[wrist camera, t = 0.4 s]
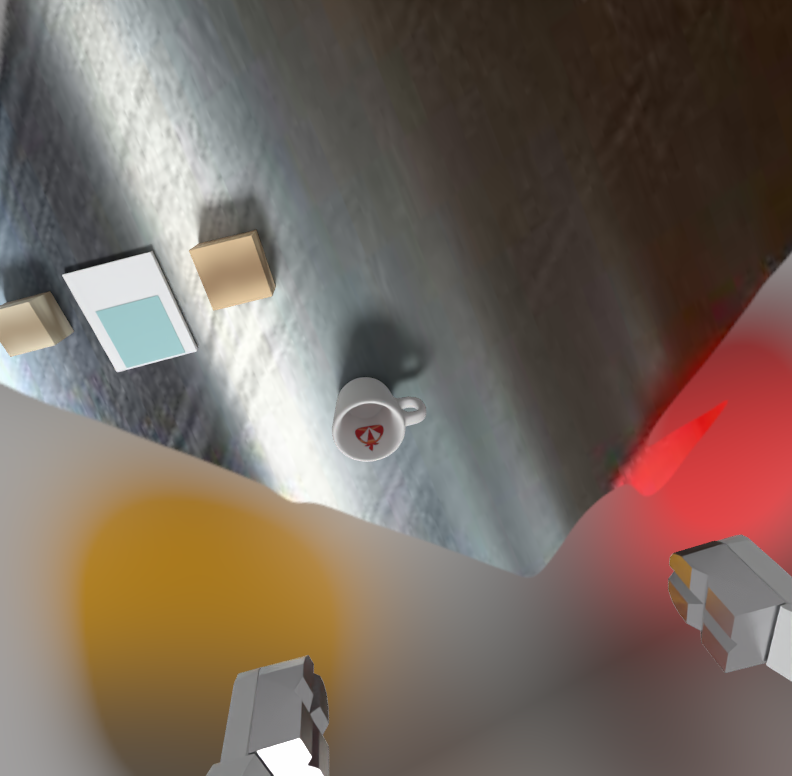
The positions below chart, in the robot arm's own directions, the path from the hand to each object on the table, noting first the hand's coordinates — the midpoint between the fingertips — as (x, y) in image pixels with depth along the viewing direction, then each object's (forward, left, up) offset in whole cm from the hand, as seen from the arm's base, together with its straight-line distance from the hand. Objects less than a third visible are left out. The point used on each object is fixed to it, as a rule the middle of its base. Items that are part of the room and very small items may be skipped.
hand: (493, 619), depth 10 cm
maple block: (-2, -34, -45) cm, 56 cm away
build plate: (0, -25, -45) cm, 51 cm away
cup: (+17, -3, -45) cm, 48 cm away
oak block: (-2, -13, -45) cm, 47 cm away
